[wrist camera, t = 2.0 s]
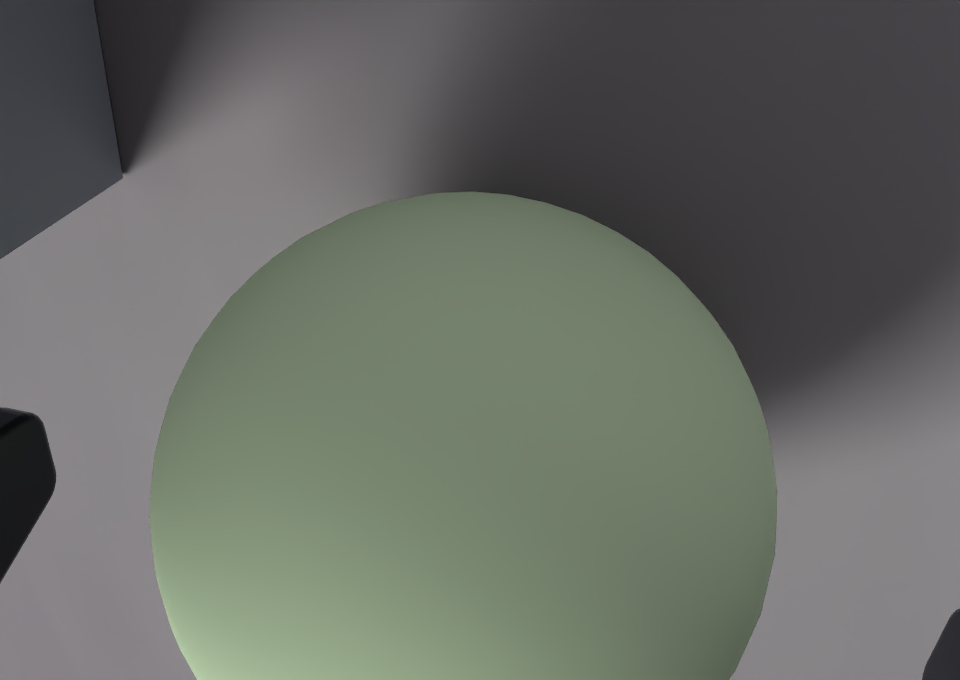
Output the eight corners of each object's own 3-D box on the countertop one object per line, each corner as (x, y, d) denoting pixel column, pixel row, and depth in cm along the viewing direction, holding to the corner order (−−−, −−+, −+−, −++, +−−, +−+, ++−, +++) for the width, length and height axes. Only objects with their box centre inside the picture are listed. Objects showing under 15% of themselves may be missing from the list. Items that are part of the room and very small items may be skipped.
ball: (824, 149, 9) (933, 555, 4) (711, 553, 13) (701, 1049, 8) (290, 77, 10) (-105, 349, 5) (311, 470, 14) (74, 864, 9)
